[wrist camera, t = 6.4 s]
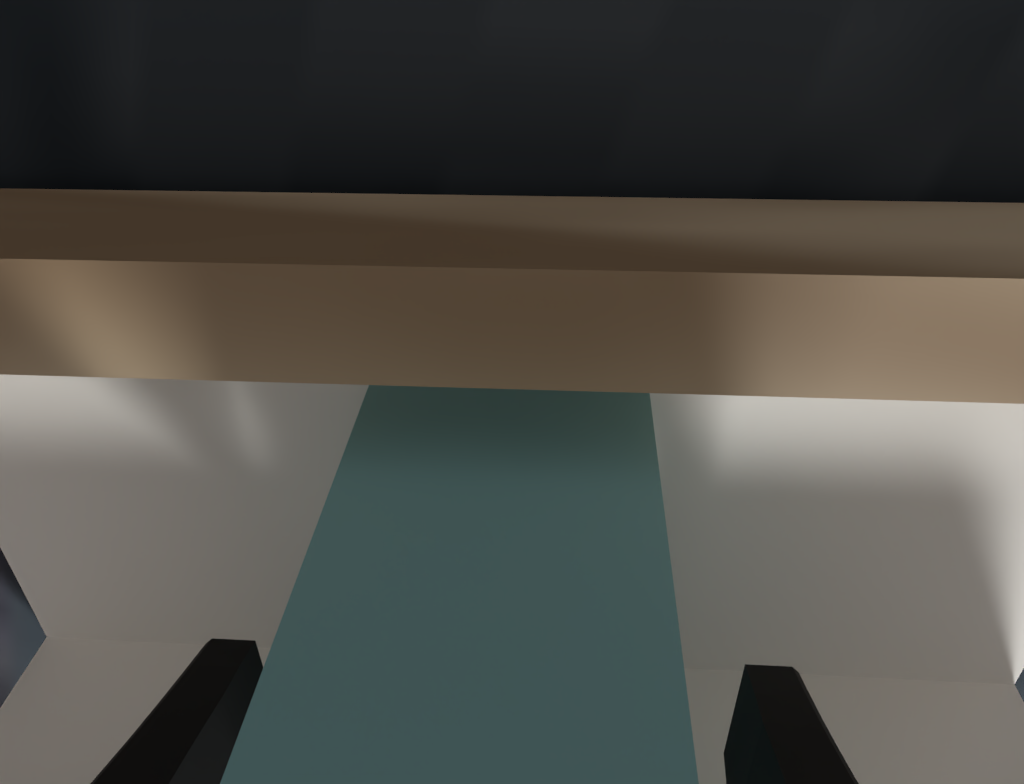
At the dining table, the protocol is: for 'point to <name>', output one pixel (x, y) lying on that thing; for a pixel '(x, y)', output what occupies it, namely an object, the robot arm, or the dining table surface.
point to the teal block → (481, 603)
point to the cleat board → (530, 366)
